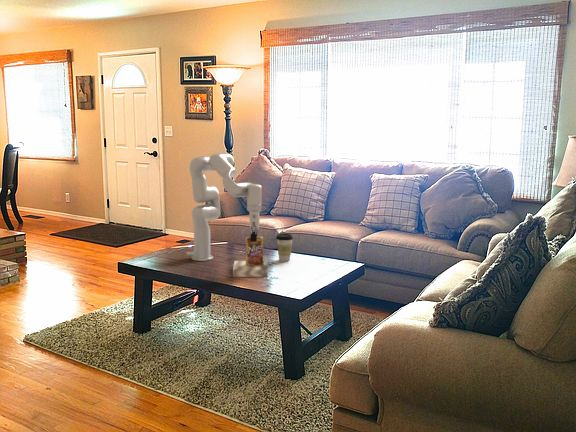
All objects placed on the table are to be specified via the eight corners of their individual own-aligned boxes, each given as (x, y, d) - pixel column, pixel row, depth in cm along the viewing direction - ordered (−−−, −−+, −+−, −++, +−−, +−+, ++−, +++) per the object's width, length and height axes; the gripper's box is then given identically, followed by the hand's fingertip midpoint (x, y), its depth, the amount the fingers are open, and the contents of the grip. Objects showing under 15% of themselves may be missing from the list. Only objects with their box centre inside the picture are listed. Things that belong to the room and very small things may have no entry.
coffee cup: (273, 261, 331) (273, 236, 329) (279, 257, 340) (280, 233, 338) (289, 263, 328) (289, 237, 325) (295, 259, 337) (295, 234, 334)
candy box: (246, 266, 304) (246, 238, 302) (245, 264, 308) (245, 236, 306) (263, 265, 306) (263, 237, 303) (261, 263, 310) (261, 235, 308)
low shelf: (232, 276, 298) (232, 264, 297) (234, 267, 316) (234, 256, 315) (267, 276, 299) (267, 264, 298) (267, 267, 317) (267, 256, 316)
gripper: (261, 210, 294) (260, 243, 297) (261, 205, 311) (260, 235, 314) (246, 210, 293) (246, 242, 296) (247, 204, 310) (247, 235, 313)
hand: (253, 239), depth 305 cm, fingers open, 9 cm apart
